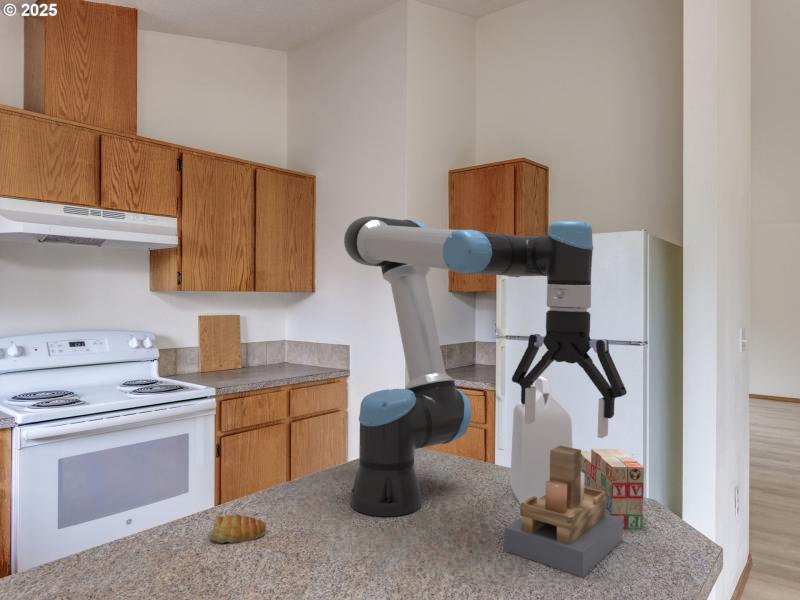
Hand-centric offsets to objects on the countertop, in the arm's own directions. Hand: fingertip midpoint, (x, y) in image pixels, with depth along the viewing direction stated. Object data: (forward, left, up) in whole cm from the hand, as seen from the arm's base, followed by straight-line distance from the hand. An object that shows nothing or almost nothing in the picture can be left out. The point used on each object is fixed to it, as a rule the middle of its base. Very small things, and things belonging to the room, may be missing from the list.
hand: (564, 429), depth 100 cm
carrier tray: (0, 0, -17) cm, 17 cm away
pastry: (-47, -36, -21) cm, 63 cm away
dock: (0, 0, -21) cm, 21 cm away
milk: (-15, +21, -21) cm, 33 cm away
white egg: (0, +4, -13) cm, 14 cm away
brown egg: (0, -4, -13) cm, 14 cm away
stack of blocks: (0, +23, -21) cm, 31 cm away
